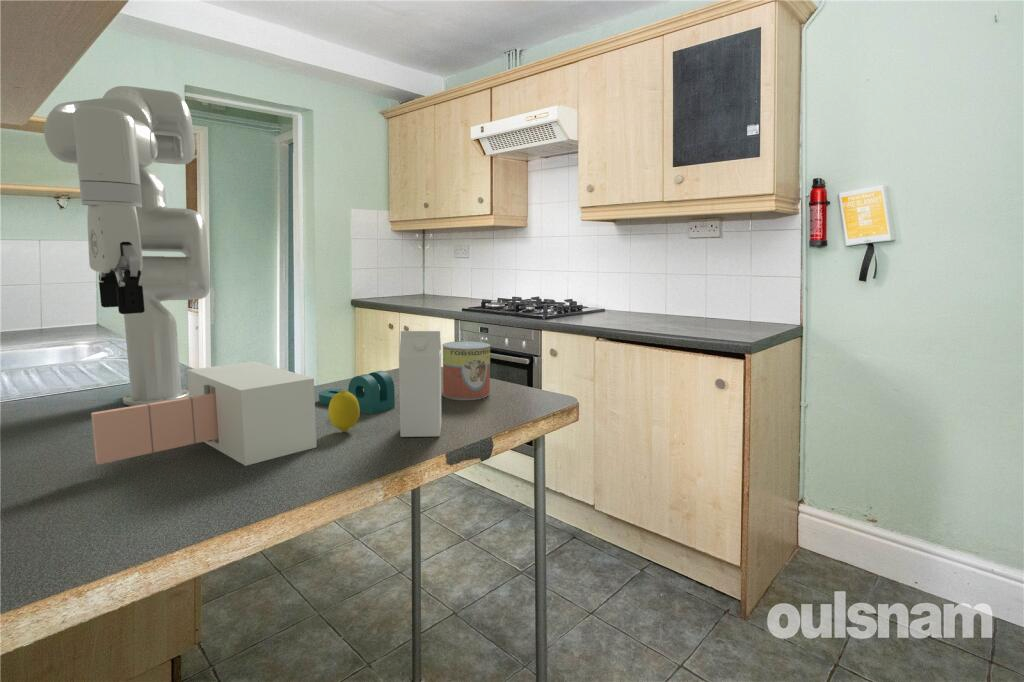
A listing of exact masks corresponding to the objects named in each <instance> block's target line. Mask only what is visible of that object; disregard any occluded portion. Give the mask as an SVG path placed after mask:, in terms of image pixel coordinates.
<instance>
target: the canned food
mask: <svg viewBox="0 0 1024 682" xmlns="http://www.w3.org/2000/svg"><path fill="white" fill-rule="evenodd" d="M441 347H442V396H443V397H444V398H446V399H449V400H454V401H455V400H456V401H477V399H478V400H482V399H481V398H483V399H486V398H488V397H489V395H490V396H491V393H490V392H491V391H490V387H491V386H490V385H491V384H490V383H491V382H490V381H491V378H490V377H491V344H490V343H488V342H483V341H473V340H467V341H466V340H464V341H463V340H459V341H450V342H445V343H443V344H441ZM487 396H488V397H487ZM485 397H486V398H485Z"/></svg>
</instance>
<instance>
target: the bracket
mask: <svg viewBox="0 0 1024 682" xmlns="http://www.w3.org/2000/svg"><path fill="white" fill-rule="evenodd" d="M342 390H346V391H347V392H350V393H352V394H353V395H354V396H355V397H356V398H357V400H358V403H359V408H360V413H365V414H368V415H369V414H370V415H374V414H378V413H381V412H384V411H388V410H390V409H393V408H395V407H396V406H395V383H394V380H393V378H392V376H391V375H390V374H389V373H388V372H386V371H385V370H377V371H376V370H375V371H373V372H370V373H367V374H360V375H356V376H354V377H352V378H351V379H350V381H349V383H348V389H346V388H330V389H324V390H321V391H319V392H318V403H319V404H320V405H325V406H328V407H329V404H330V401H331V399H332V397H333V396H334V395H336V394H337V393H339V392H341V391H342Z"/></svg>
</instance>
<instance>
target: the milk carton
mask: <svg viewBox="0 0 1024 682" xmlns="http://www.w3.org/2000/svg"><path fill="white" fill-rule="evenodd" d="M399 342H400V343H399V350H398V351H399V353H398V354H399V355H398V368H399V369H398V371H399V373H398V375H399V429H400V430H399V431H400V437H401V438H409V437H410V438H415V437H419V438H421V437H429V438H430V437H440V436H441V430H442V344H441V331H440V330H401V331H400V341H399Z"/></svg>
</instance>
